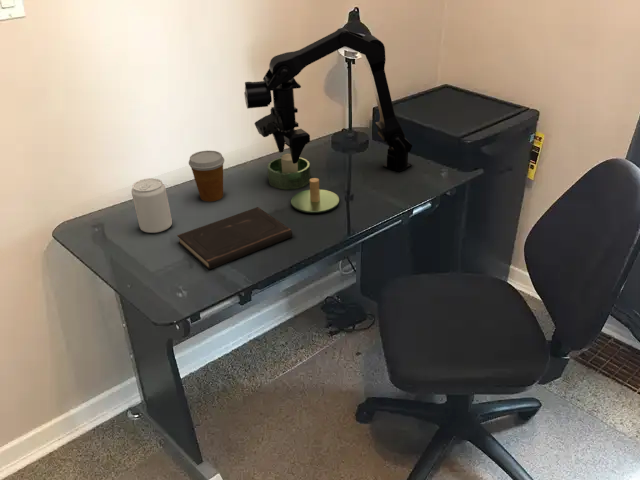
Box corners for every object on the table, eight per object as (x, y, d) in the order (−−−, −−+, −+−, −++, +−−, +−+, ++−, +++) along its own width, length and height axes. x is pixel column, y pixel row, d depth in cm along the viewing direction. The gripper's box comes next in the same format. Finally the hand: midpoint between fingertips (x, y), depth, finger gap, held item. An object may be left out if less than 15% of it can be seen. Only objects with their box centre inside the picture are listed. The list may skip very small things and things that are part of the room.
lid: (315, 188, 175) (313, 165, 172) (349, 202, 168) (348, 178, 164) (281, 204, 167) (279, 181, 163) (315, 220, 160) (314, 195, 156)
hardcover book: (178, 243, 150) (177, 235, 149) (258, 214, 163) (257, 206, 161) (210, 270, 140) (208, 262, 139) (292, 238, 152) (292, 230, 151)
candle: (291, 173, 182) (290, 152, 178) (301, 178, 180) (300, 157, 175) (279, 178, 179) (277, 156, 175) (289, 184, 177) (288, 161, 173)
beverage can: (178, 222, 159) (170, 180, 153) (160, 236, 153) (151, 193, 146) (152, 217, 161) (143, 175, 155) (133, 231, 155) (123, 189, 148)
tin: (290, 168, 187) (289, 153, 184) (319, 179, 180) (318, 163, 178) (260, 181, 179) (258, 165, 177) (288, 193, 173) (287, 177, 170)
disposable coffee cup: (187, 200, 169) (180, 160, 163) (207, 186, 177) (201, 147, 170) (216, 206, 166) (210, 166, 160) (235, 192, 174) (230, 152, 167)
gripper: (243, 100, 170) (249, 152, 179) (271, 120, 157) (275, 175, 166) (280, 93, 175) (283, 144, 184) (309, 112, 162) (312, 166, 171)
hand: (287, 157), depth 176 cm, fingers open, 9 cm apart
